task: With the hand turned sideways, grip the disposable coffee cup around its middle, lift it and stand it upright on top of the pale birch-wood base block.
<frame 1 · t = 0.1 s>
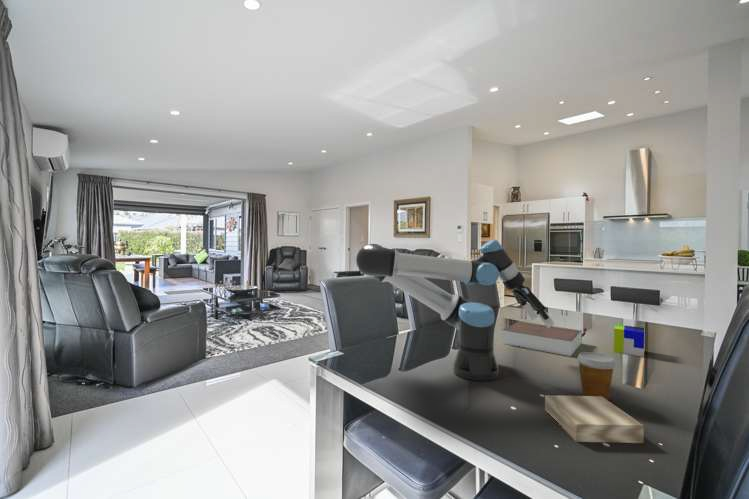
hand: (542, 321, 133), 15 cm above the table, tool tilted 35°, fingers open, 13 cm apart
wooden base block: (589, 425, 86), on the table
puzzle toy: (628, 352, 147), on the table
disposable coffee cup: (595, 398, 102), on the table
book: (541, 345, 157), on the table
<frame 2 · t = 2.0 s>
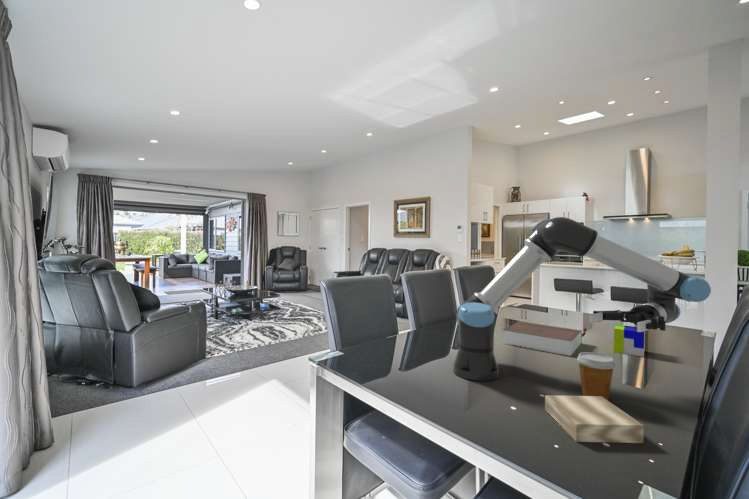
hand: (612, 322, 106), 21 cm above the table, tool horizontal, fingers open, 13 cm apart
nothing on the table moved.
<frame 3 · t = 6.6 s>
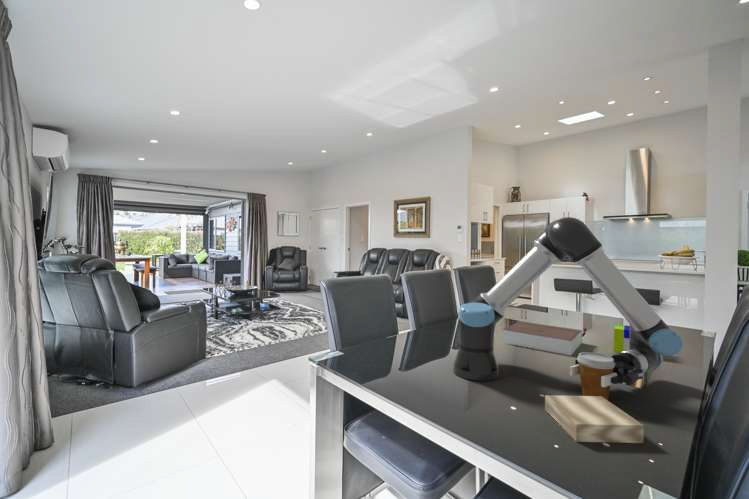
hand: (586, 376, 99), 7 cm above the table, tool horizontal, fingers closed on disposable coffee cup, 8 cm apart
disposable coffee cup: (595, 398, 102), on the table, touching gripper
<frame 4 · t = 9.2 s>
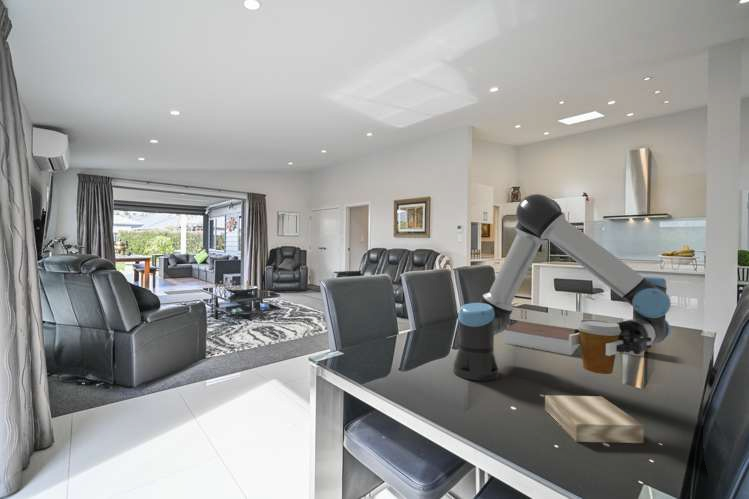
hand: (588, 344, 86), 20 cm above the table, tool horizontal, fingers closed on disposable coffee cup, 8 cm apart
disposable coffee cup: (597, 370, 89), point 13 cm above the table, touching gripper
when the fingers open (12 cm above the table, at t = 11.8 s): disposable coffee cup drops 1 cm, resting on wooden base block.
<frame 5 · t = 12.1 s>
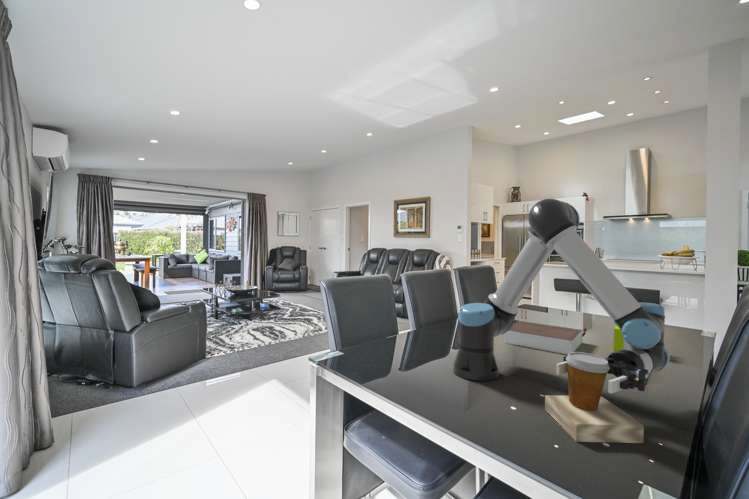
hand: (581, 377, 84), 12 cm above the table, tool horizontal, fingers open, 12 cm apart
disposable coffee cup: (582, 404, 88), point 4 cm above the table, touching gripper, wooden base block
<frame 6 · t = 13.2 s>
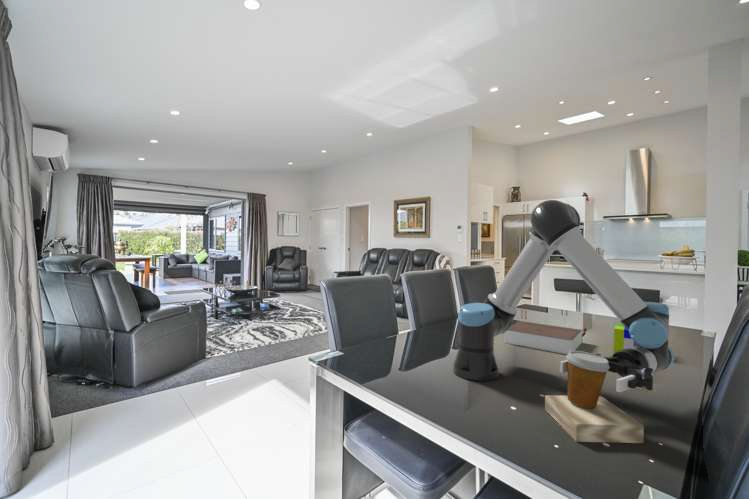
hand: (587, 375, 85), 13 cm above the table, tool horizontal, fingers open, 13 cm apart
disposable coffee cup: (581, 403, 89), point 4 cm above the table, touching wooden base block
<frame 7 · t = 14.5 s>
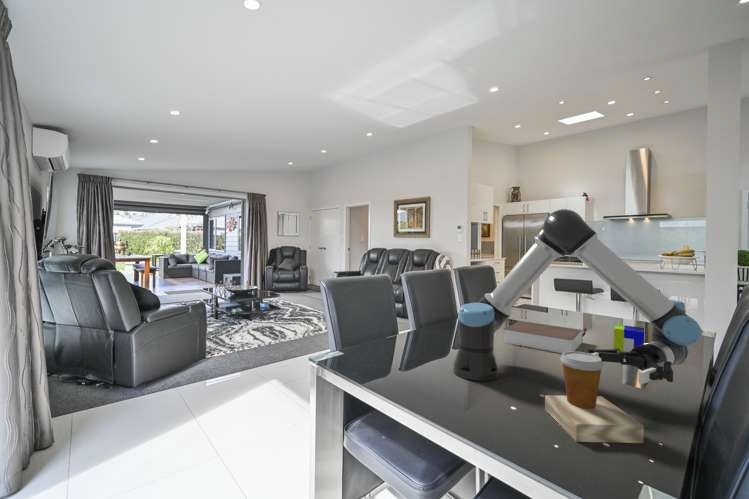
hand: (610, 368, 90), 13 cm above the table, tool horizontal, fingers open, 13 cm apart
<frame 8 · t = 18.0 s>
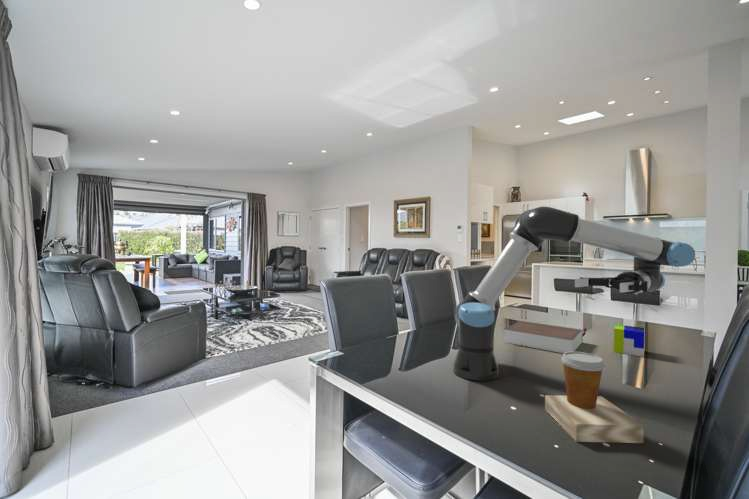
hand: (597, 285, 109), 32 cm above the table, tool horizontal, fingers open, 13 cm apart
at the end: disposable coffee cup inside the target area on the wooden base block (3.1 cm from its centre), point 3.8 cm above the wooden base block's base; disposable coffee cup tilted 0°; the gripper is holding nothing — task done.
